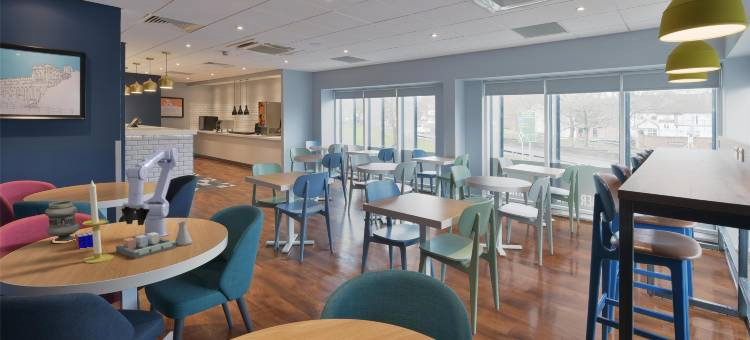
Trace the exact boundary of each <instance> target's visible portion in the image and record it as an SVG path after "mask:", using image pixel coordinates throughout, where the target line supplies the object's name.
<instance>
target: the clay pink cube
mask: <svg viewBox="0 0 750 340" xmlns="http://www.w3.org/2000/svg"><path fill="white" fill-rule="evenodd" d="M122 242H123V243H122V246H124V247H126V248H129V249H135V248H136V238H133V237H127V238H123V239H122Z"/></svg>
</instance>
